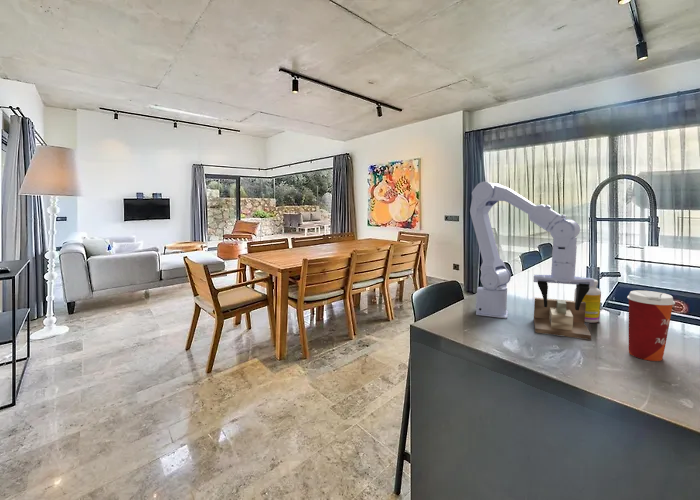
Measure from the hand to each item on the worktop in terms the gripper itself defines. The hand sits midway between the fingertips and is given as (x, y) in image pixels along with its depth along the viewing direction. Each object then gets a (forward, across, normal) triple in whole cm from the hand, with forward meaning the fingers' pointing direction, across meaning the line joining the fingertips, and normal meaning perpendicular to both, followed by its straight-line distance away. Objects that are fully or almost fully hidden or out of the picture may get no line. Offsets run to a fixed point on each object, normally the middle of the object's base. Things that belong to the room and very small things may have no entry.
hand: (560, 307), depth 94 cm
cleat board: (+6, 0, 0) cm, 6 cm away
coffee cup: (+6, +16, -12) cm, 21 cm away
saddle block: (+5, 0, 0) cm, 5 cm away
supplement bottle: (+6, +8, +12) cm, 16 cm away
